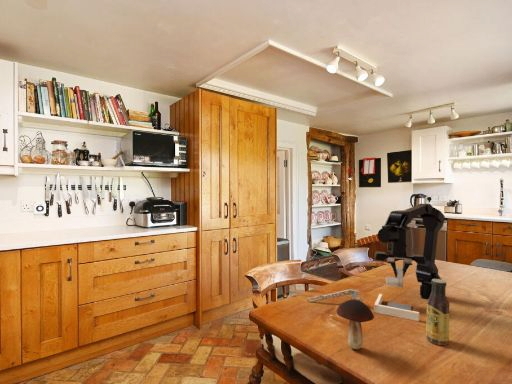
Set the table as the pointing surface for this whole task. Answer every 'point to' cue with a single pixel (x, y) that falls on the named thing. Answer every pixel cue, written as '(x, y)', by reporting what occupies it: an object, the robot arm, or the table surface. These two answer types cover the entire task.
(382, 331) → the table surface
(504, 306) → the table surface
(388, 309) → the white l-shaped block
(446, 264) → the table surface
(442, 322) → the sauce bottle
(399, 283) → the aluminium bracket
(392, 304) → the pad
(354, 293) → the bracket
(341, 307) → the decorative mushroom
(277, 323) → the table surface
